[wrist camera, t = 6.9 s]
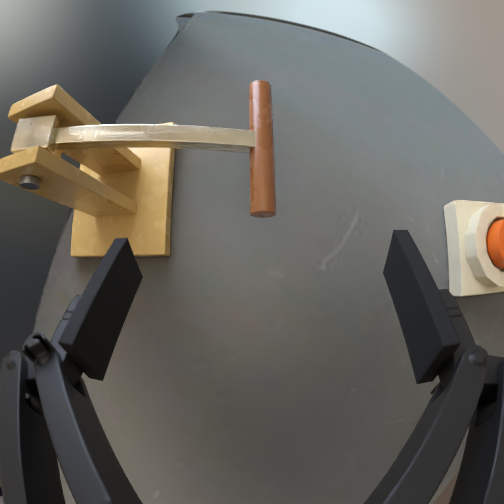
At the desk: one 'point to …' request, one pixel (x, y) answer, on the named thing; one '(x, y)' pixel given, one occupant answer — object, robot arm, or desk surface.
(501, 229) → the button
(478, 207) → the button box
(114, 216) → the bracket
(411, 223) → the desk surface
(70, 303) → the robot arm
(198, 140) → the lever
